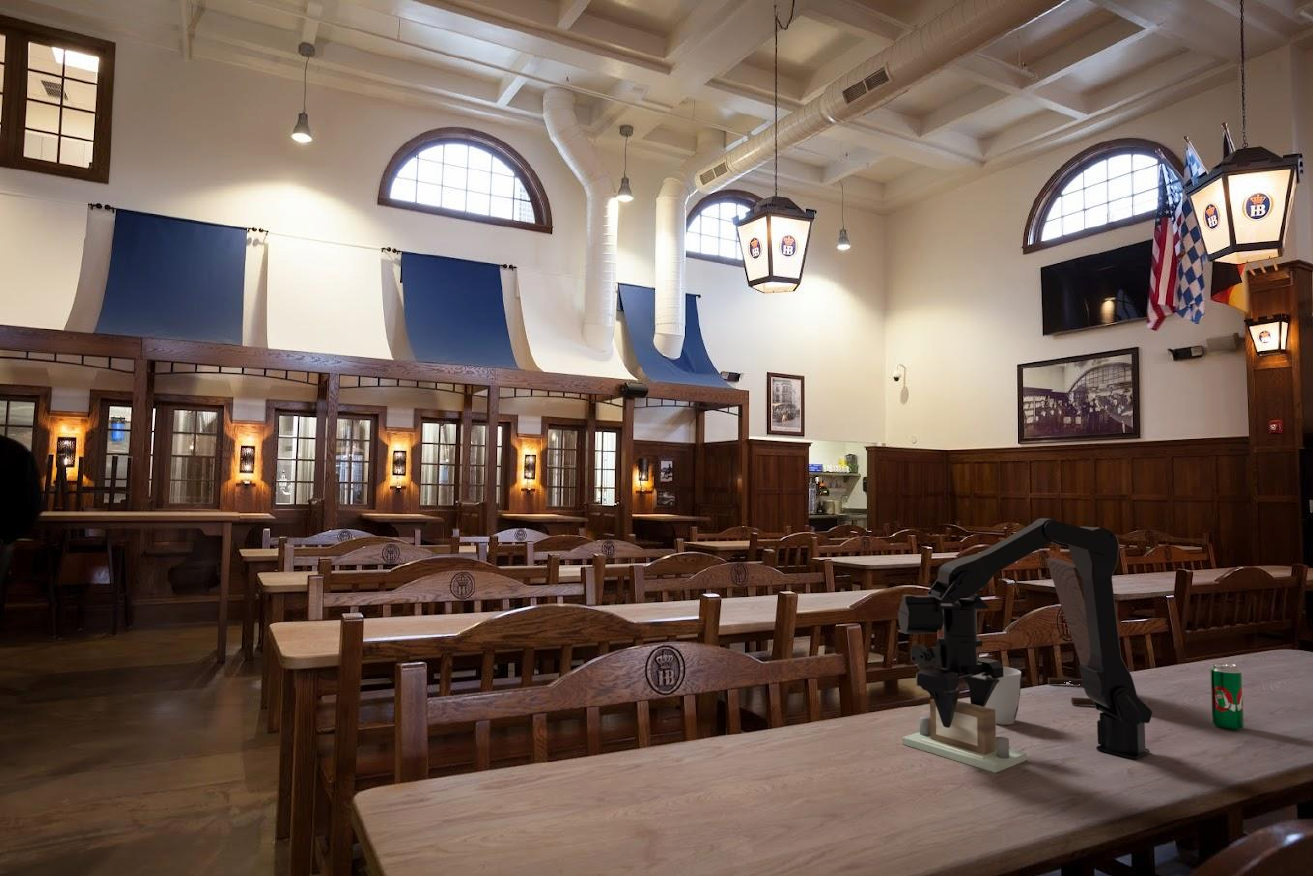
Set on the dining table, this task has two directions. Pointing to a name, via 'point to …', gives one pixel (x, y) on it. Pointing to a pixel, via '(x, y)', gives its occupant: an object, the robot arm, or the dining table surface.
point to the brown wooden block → (966, 727)
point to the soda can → (1227, 696)
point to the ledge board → (989, 762)
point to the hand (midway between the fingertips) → (961, 722)
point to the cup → (1006, 696)
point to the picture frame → (1072, 614)
